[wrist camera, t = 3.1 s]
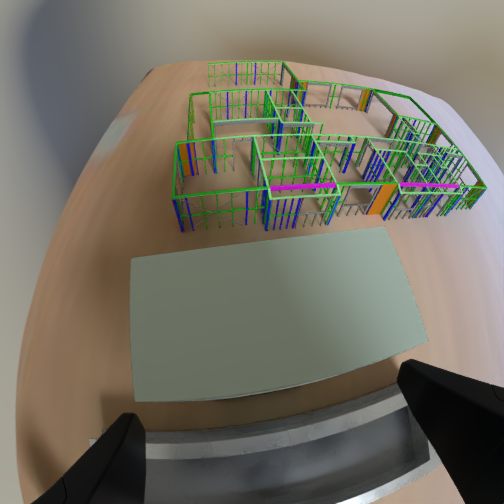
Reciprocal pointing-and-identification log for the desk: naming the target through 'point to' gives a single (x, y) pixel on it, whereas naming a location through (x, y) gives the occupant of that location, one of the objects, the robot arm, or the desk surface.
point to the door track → (294, 457)
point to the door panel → (267, 315)
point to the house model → (297, 94)
